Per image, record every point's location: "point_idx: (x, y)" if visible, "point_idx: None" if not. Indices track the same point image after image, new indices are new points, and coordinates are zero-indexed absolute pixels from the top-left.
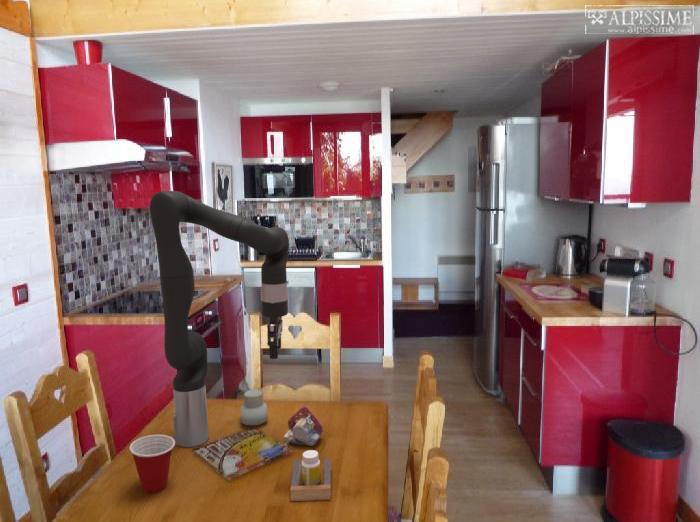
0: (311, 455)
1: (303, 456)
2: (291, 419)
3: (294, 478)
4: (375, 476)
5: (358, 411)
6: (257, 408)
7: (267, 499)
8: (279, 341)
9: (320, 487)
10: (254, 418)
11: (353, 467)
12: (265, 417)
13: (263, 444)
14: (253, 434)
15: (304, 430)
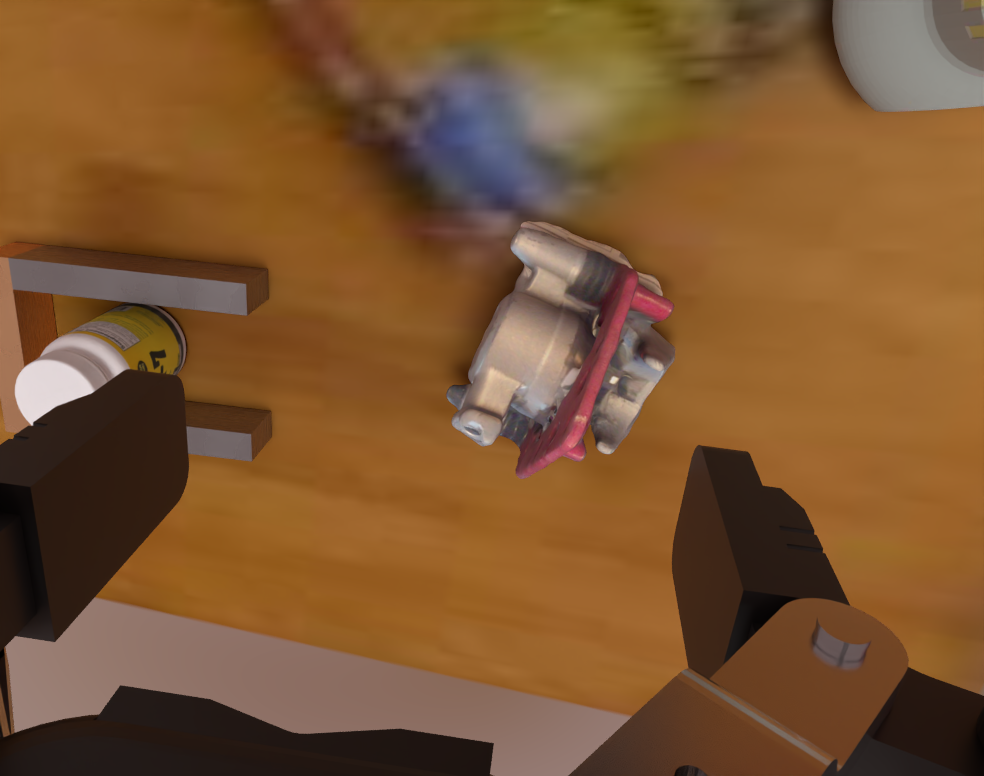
0: (40, 404)
1: (33, 362)
2: (614, 303)
3: (72, 278)
4: (206, 597)
5: None
6: (926, 26)
7: (24, 129)
8: (690, 635)
9: (8, 391)
10: (842, 4)
11: (279, 531)
12: (859, 94)
13: (576, 85)
14: (736, 3)
15: (469, 373)
